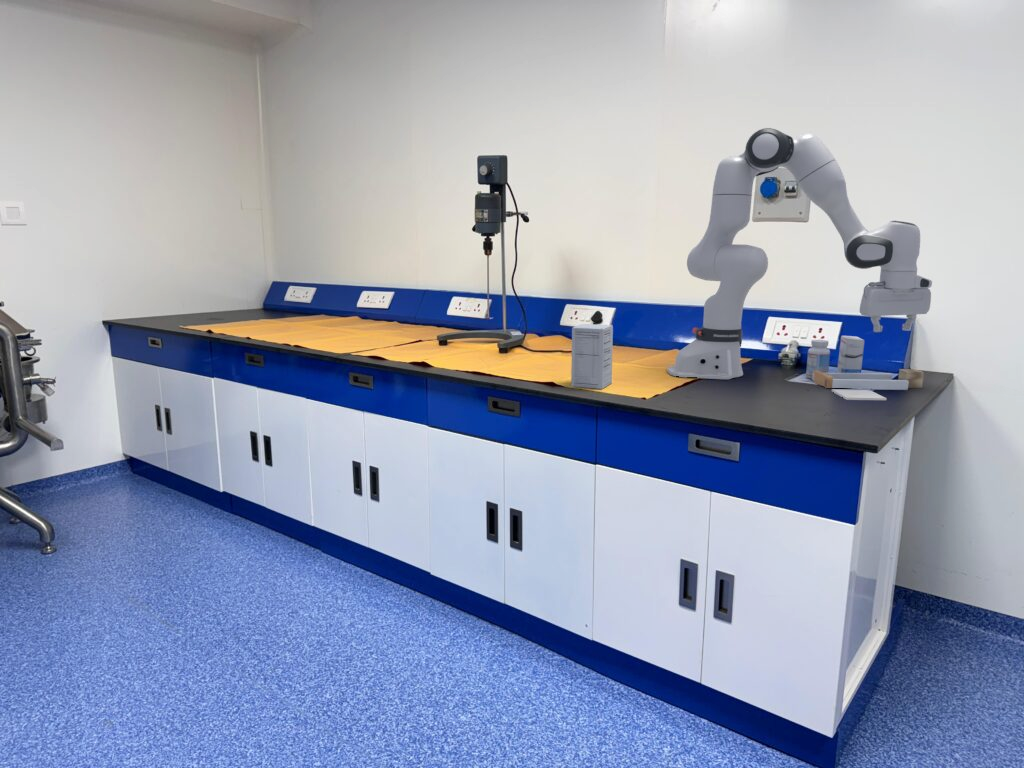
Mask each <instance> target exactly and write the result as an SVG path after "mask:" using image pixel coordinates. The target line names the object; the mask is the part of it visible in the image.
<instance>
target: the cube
mask: <svg viewBox="0 0 1024 768" xmlns="http://www.w3.org/2000/svg"><path fill="white" fill-rule="evenodd" d="M898 371H899V372H898V378H897V380H907V381H909V384H908V389H909V388H918V389H919V388H920V389H921V388H922V389H923V383H924V373H925V372H924V371H921V370H918V369H915V368H899V370H898Z"/></svg>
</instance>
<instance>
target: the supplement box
mask: <svg viewBox="0 0 1024 768" xmlns="http://www.w3.org/2000/svg"><path fill="white" fill-rule="evenodd" d="M613 335H614V326H613V324H596V323H595V324H594V323H593V324H591V323H590V324H589V323H581V324H578V325H575V326H573V327H571V366H570V367H571V369H570V372H571V376H570V378H571V379H570V380H571V382H570V386H571V387H572V388H574V387H576V388H585V389H586V388H587V389H597V390H598V389H599V390H603V389H604V388H606V387H608V386H609V385H611V384H612V383H613V346H614V345H613V342H614V341H613V338H614V336H613Z"/></svg>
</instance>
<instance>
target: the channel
mask: <svg viewBox="0 0 1024 768" xmlns="http://www.w3.org/2000/svg"><path fill="white" fill-rule="evenodd" d="M811 381H812V382H813V381H814V383H815V382H816V383H815V384H817V383H818V384H817V385H819V384H820V385H819V386H821V385H822V386H824V387H825V388H824V387H823V388H824V389H826V388H872V389H871V390H885V391H887V390H889V391H890V390H893V391H894V390H895V391H901V390H902V391H908V389H909V388H908V384H909V381H907V380H898V379H893V374H892V373H886V372H885V373H884V372H861V373H837V372H828V373H826V372H821V371H819V370H813V374H812V379H811ZM822 386H821V387H822Z"/></svg>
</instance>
